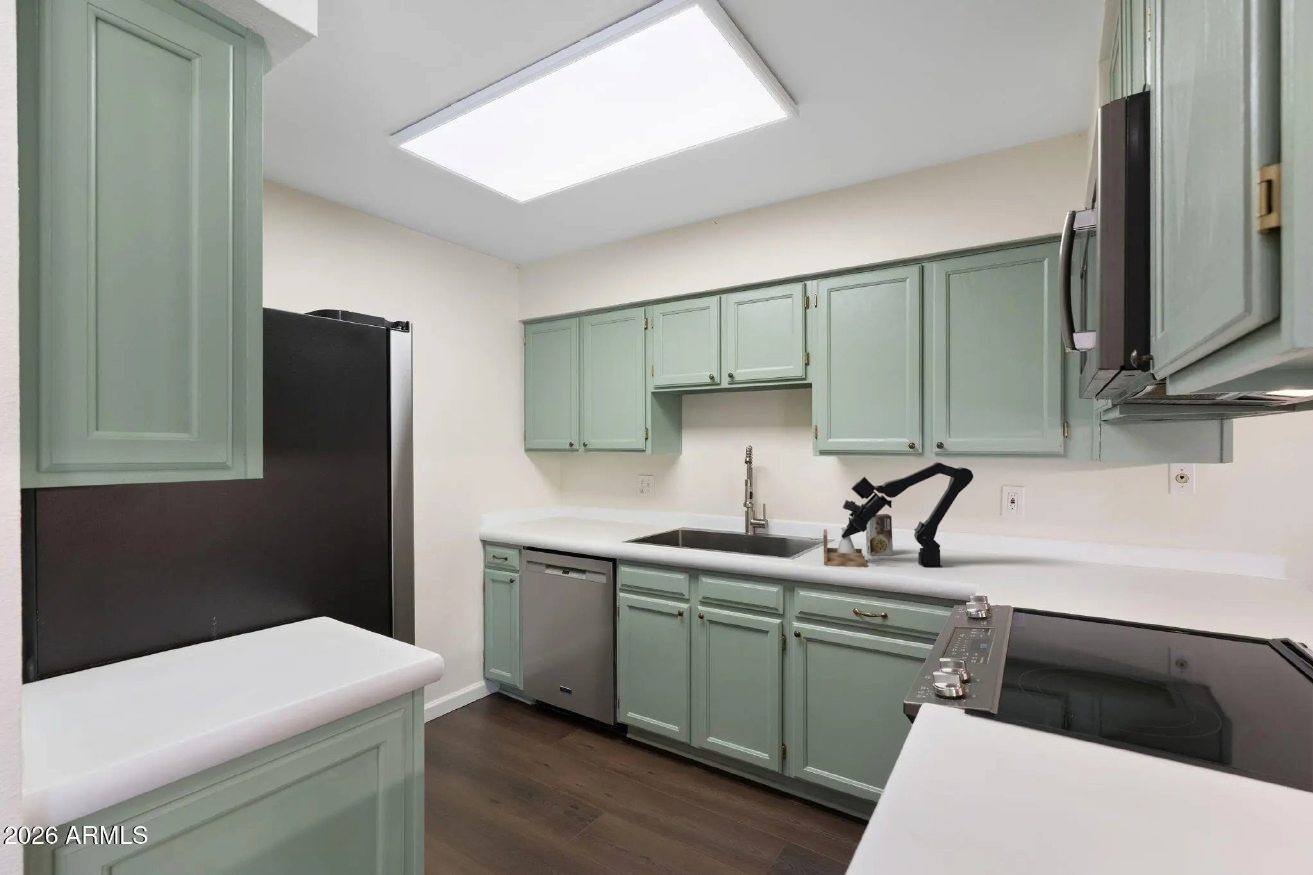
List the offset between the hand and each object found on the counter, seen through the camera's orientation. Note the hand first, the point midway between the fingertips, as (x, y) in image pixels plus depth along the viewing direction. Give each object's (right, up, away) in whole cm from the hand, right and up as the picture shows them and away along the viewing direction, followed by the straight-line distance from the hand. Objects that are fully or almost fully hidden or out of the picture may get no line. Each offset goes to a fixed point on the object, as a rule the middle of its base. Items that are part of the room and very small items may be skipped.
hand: (842, 536), depth 229 cm
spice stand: (+1, -10, 0) cm, 10 cm away
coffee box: (+20, -10, +14) cm, 26 cm away
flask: (+2, -7, 0) cm, 7 cm away
